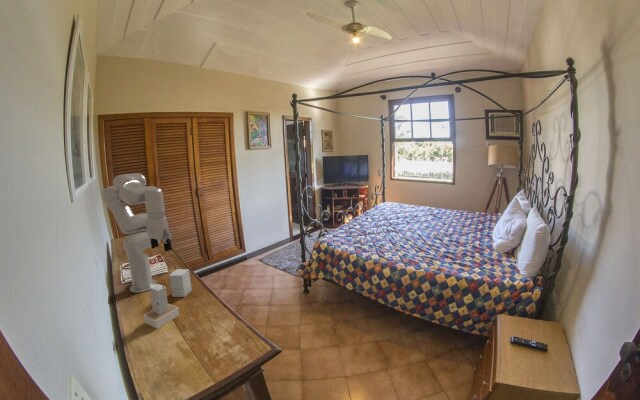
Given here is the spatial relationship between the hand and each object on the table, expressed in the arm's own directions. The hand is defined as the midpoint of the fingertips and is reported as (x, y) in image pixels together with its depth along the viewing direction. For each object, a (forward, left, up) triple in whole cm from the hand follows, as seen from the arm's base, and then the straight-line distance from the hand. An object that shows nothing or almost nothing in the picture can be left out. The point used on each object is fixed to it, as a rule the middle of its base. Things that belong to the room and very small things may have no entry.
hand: (161, 248), depth 137 cm
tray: (+7, -9, -30) cm, 32 cm away
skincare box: (+7, -9, -26) cm, 29 cm away
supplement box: (-4, +10, -31) cm, 32 cm away
